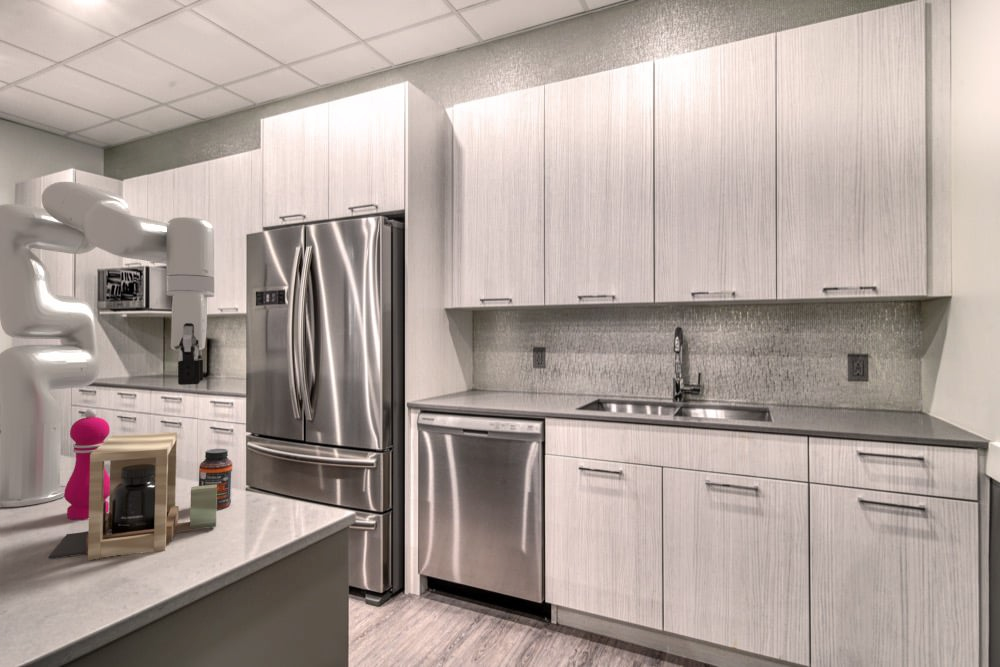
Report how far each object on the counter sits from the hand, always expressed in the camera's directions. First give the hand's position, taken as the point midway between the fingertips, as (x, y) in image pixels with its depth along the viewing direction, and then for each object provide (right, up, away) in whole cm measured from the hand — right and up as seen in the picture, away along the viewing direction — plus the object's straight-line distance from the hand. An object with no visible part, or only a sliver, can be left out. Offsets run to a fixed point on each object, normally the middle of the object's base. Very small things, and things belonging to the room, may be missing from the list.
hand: (191, 382), depth 97 cm
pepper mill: (-23, -26, +5) cm, 35 cm away
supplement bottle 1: (-6, -26, -6) cm, 27 cm away
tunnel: (-6, -26, -6) cm, 27 cm away
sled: (-3, -25, -4) cm, 26 cm away
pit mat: (-13, -26, -9) cm, 30 cm away
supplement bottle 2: (-2, -26, +11) cm, 29 cm away
